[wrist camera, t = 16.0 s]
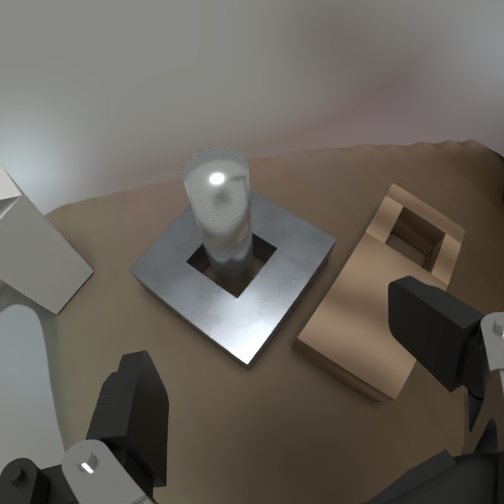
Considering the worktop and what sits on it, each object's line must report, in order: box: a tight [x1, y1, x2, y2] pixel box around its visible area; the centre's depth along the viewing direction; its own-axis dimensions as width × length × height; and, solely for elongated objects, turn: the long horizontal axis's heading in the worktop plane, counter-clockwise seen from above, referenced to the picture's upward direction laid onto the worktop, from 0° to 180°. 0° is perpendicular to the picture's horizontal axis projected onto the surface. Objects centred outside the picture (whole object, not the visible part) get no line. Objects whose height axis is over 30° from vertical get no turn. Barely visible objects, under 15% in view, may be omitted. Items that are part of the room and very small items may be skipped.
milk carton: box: [0, 166, 94, 315], centre depth 25 cm, size 7×7×19 cm
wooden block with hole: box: [292, 184, 465, 402], centre depth 29 cm, size 20×10×5 cm, turn 144°
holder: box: [129, 190, 336, 370], centre depth 31 cm, size 14×14×4 cm
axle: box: [182, 147, 254, 295], centre depth 25 cm, size 4×4×16 cm
